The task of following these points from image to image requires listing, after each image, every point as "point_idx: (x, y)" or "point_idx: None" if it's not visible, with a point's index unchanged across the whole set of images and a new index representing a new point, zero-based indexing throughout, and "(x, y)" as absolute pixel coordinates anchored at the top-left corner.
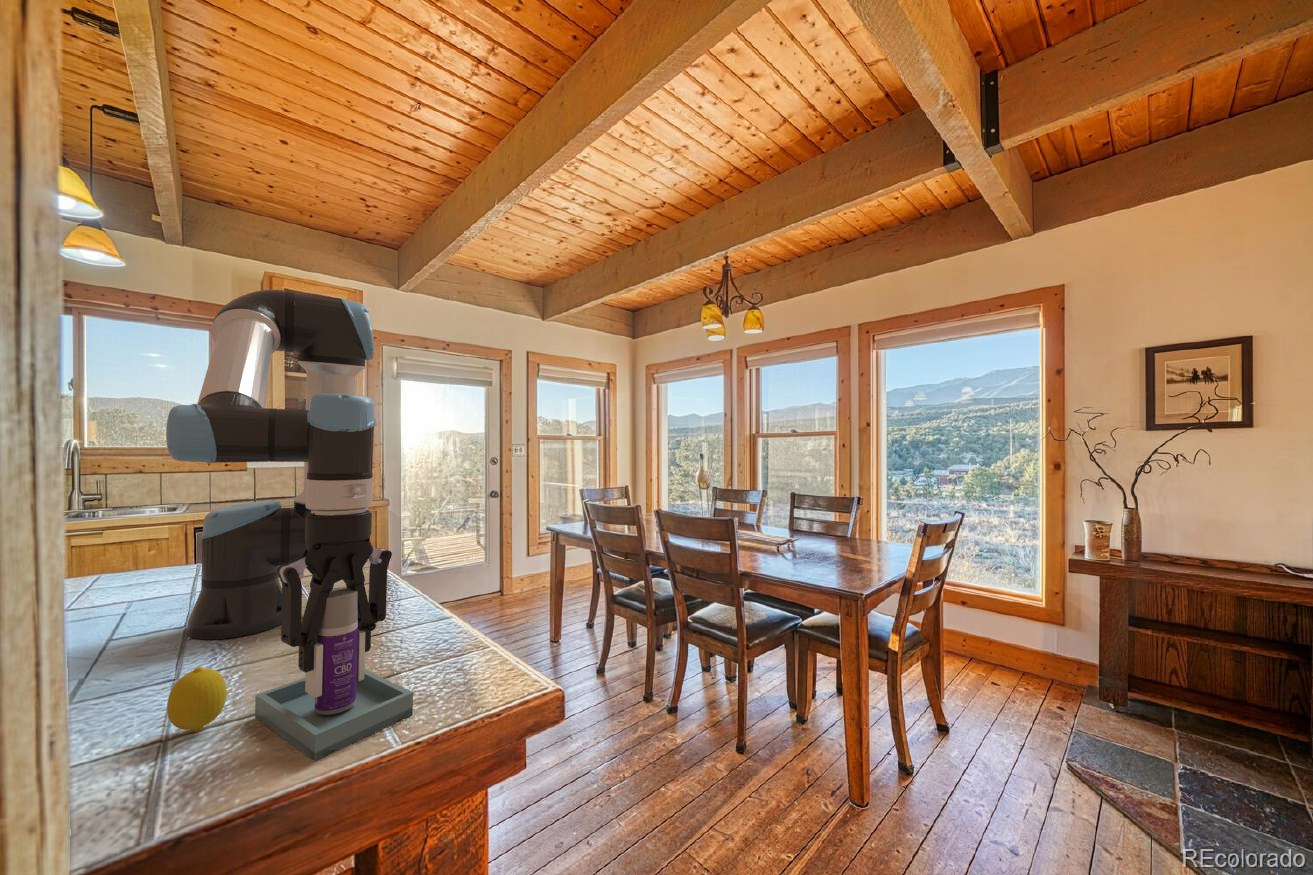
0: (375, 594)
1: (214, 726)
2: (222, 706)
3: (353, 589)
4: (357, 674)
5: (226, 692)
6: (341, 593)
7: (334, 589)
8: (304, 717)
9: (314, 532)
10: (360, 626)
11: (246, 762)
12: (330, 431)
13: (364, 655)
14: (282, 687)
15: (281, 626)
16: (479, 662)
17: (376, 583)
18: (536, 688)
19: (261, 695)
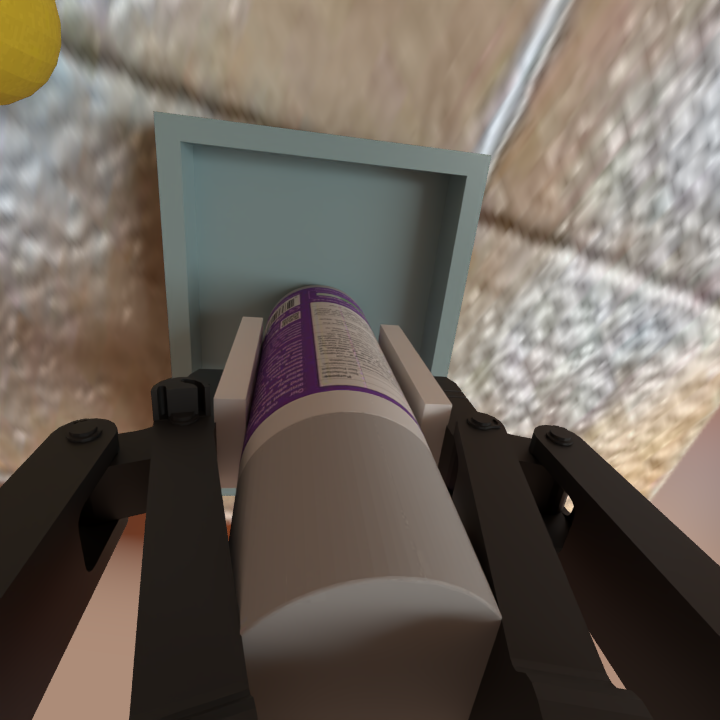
0: (597, 604)
1: (67, 51)
2: (42, 83)
3: (474, 710)
4: None
5: (39, 44)
6: (369, 714)
7: (416, 595)
8: (245, 306)
9: None
10: (446, 461)
11: (90, 348)
12: None
13: None
14: (241, 143)
15: (4, 487)
16: (676, 378)
17: (656, 701)
18: None
19: (166, 140)
